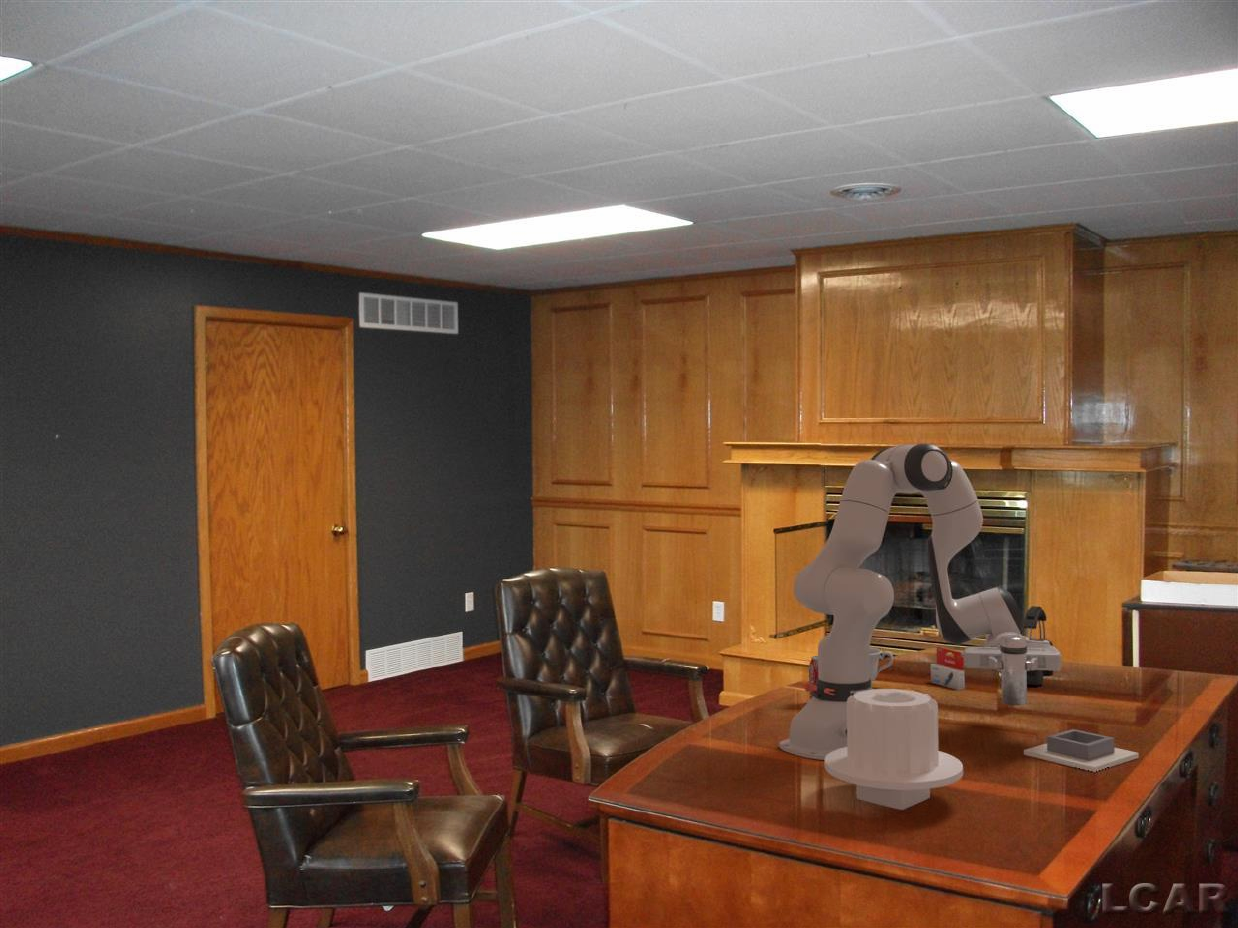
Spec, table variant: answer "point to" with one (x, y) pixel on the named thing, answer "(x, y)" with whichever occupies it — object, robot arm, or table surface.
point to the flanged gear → (893, 748)
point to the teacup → (874, 659)
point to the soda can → (813, 672)
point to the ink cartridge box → (948, 669)
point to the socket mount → (1081, 750)
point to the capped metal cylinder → (1014, 670)
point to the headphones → (1031, 623)
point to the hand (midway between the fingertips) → (1014, 665)
